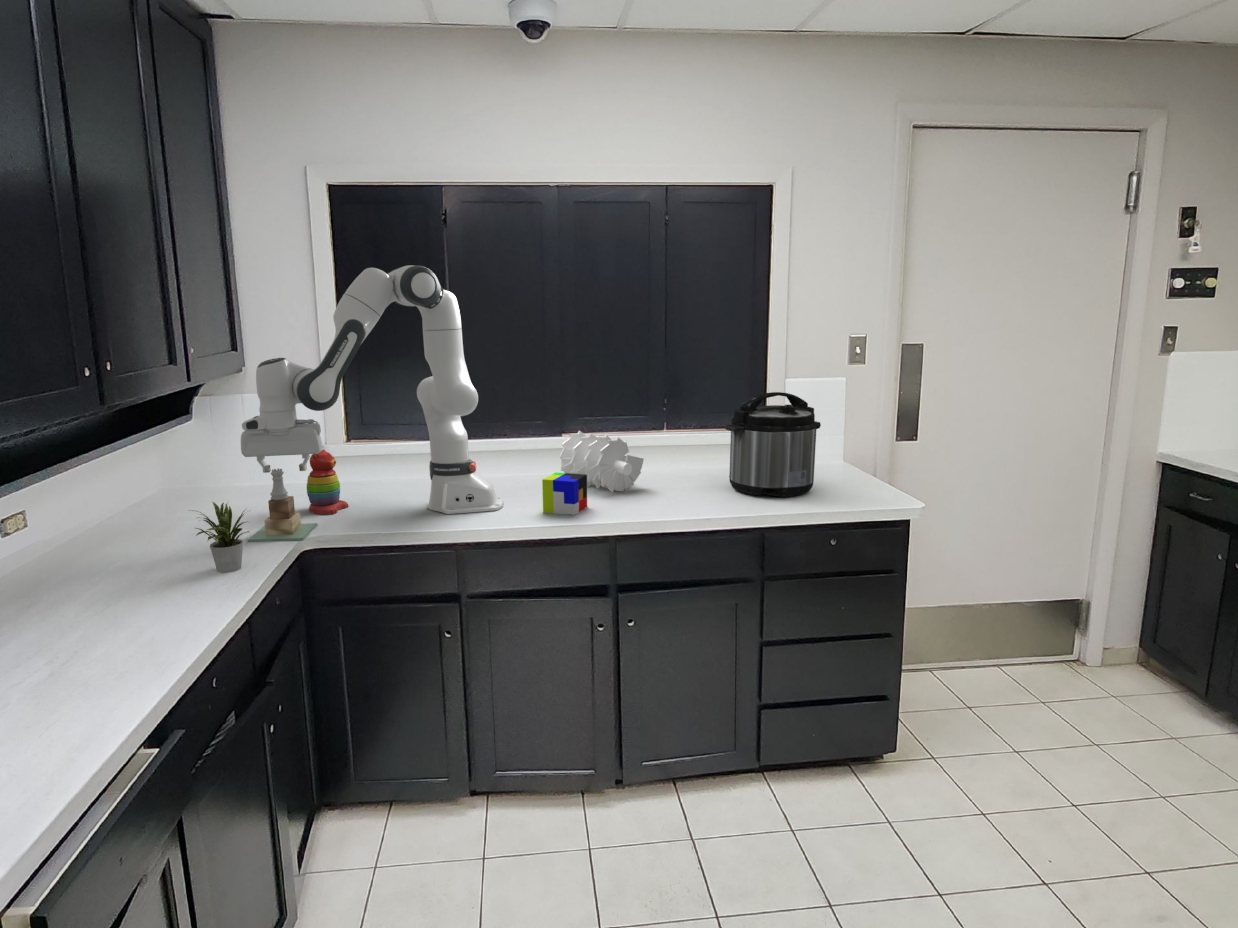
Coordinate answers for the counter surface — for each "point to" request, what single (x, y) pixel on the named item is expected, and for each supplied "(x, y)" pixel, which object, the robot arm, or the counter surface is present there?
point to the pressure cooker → (773, 447)
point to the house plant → (225, 540)
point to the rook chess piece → (278, 486)
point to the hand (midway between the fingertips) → (285, 471)
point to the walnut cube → (282, 508)
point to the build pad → (298, 535)
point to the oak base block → (282, 525)
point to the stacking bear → (324, 485)
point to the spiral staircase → (600, 461)
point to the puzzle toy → (564, 493)
